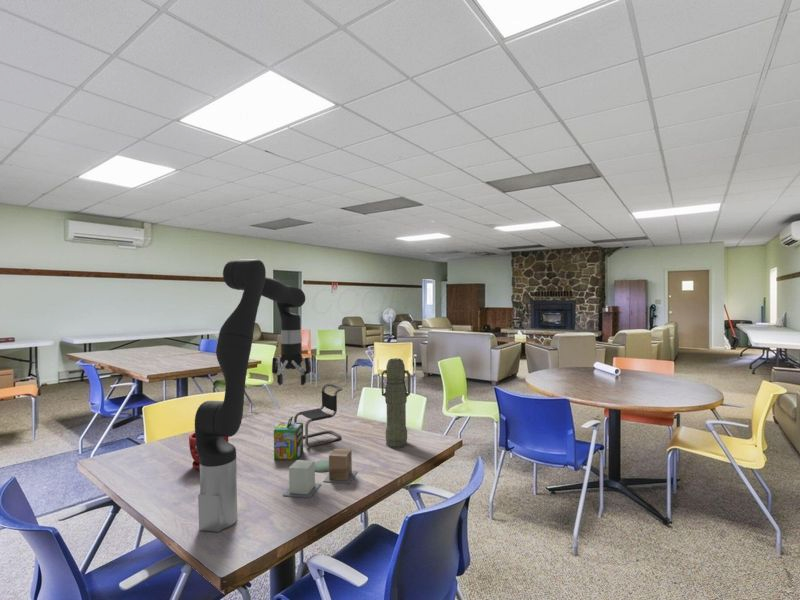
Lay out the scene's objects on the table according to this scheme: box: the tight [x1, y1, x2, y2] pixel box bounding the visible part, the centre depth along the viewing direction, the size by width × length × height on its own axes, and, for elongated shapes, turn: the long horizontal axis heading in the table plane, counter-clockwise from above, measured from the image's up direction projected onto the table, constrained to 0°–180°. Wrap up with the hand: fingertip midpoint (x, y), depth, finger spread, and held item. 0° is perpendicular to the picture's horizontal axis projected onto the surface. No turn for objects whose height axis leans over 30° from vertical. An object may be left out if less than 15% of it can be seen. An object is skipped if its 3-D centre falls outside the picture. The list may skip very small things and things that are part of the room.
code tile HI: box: [282, 482, 322, 499], centre depth 132 cm, size 9×9×1 cm
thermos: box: [380, 357, 411, 449], centre depth 171 cm, size 9×12×35 cm
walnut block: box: [328, 448, 353, 480], centre depth 141 cm, size 6×6×8 cm
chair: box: [293, 383, 343, 448], centre depth 177 cm, size 13×17×22 cm
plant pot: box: [188, 432, 229, 471], centre depth 152 cm, size 13×13×12 cm
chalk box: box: [273, 415, 304, 461], centre depth 161 cm, size 9×9×15 cm
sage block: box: [288, 459, 316, 494], centre depth 132 cm, size 6×6×8 cm
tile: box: [322, 470, 358, 485], centre depth 141 cm, size 9×9×1 cm
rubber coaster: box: [315, 460, 329, 473], centre depth 150 cm, size 9×9×1 cm
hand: (291, 384), depth 157 cm, fingers open, 8 cm apart
